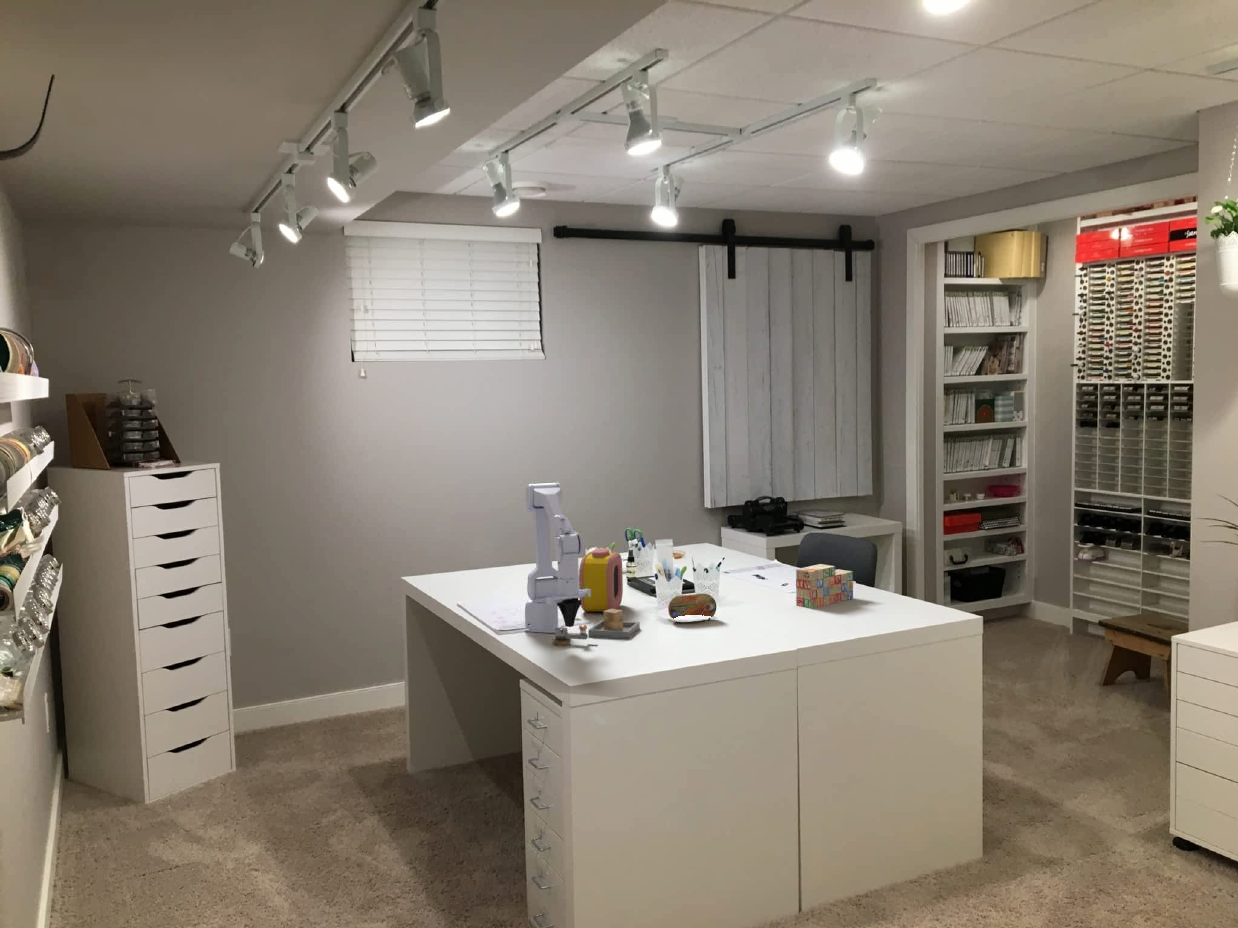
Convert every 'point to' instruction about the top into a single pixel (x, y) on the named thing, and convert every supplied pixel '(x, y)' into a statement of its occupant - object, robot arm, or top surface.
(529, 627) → the robot arm
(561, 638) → the crank
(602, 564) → the alarm clock
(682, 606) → the tin
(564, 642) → the crank base
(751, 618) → the top surface
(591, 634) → the tray
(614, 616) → the stop block
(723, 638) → the top surface
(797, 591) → the stack of blocks
